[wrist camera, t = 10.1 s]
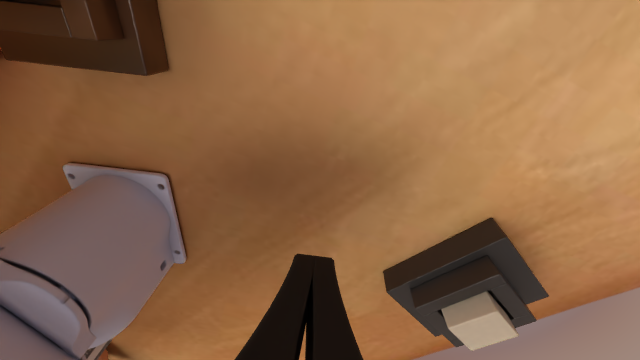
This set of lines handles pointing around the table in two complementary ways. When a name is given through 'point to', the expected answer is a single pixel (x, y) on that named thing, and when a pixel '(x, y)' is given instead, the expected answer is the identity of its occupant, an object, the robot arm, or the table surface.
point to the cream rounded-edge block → (479, 321)
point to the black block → (465, 278)
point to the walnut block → (84, 34)
